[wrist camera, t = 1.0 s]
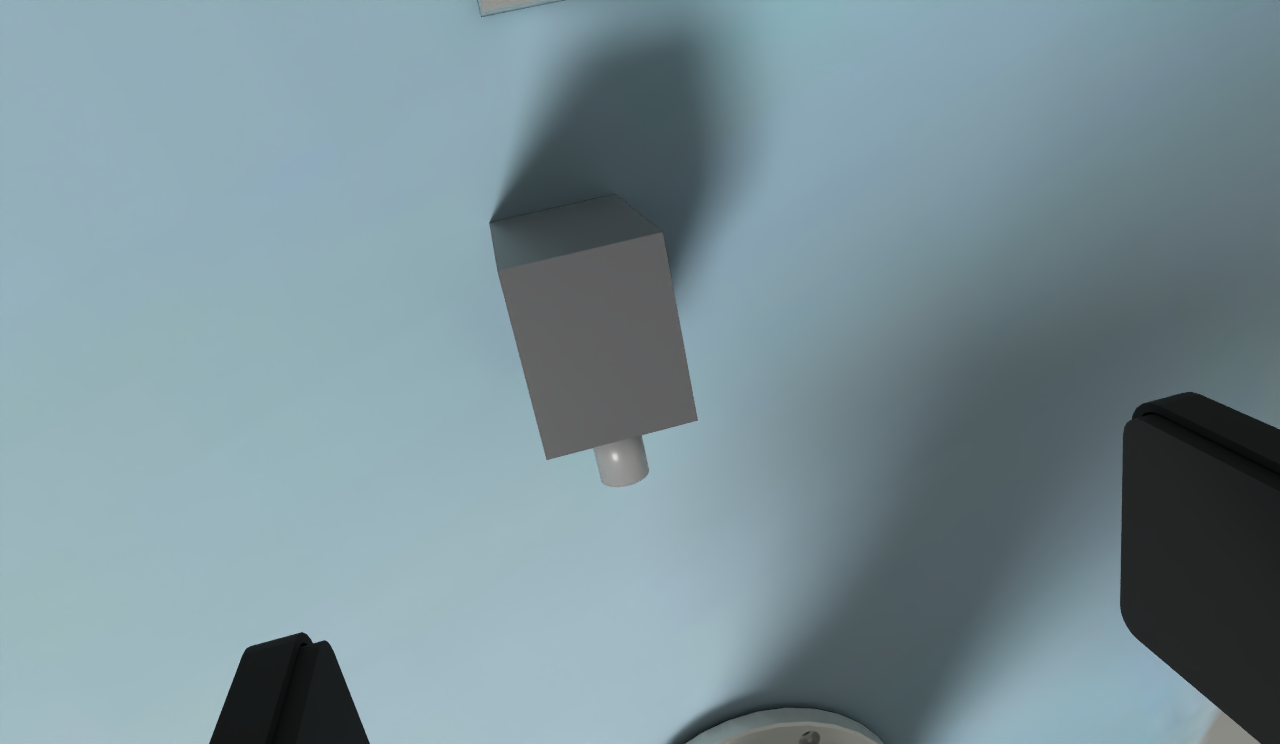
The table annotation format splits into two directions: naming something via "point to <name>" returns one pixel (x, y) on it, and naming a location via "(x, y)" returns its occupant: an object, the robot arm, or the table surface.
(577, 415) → the plug
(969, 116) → the table surface
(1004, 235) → the table surface
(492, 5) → the socket plate
